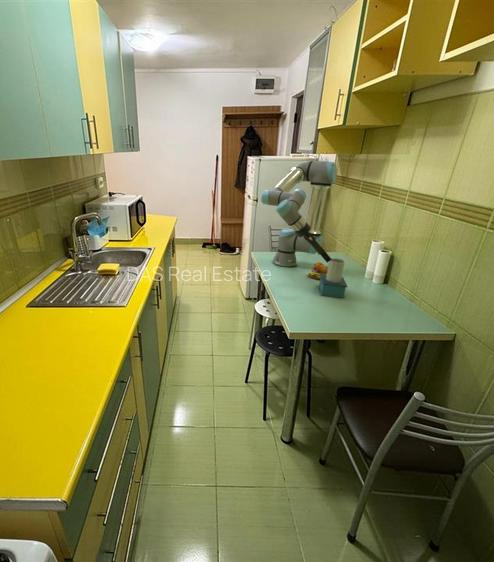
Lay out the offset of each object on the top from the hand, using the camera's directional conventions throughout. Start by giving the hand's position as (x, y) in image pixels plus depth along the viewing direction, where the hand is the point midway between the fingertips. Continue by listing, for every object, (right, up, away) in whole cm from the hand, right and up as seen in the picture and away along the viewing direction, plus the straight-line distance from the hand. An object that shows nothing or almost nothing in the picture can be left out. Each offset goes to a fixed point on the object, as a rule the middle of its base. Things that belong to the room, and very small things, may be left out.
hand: (325, 256), depth 157 cm
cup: (+6, -12, +5) cm, 15 cm away
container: (+6, -19, +8) cm, 21 cm away
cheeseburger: (+6, -10, +27) cm, 29 cm away
